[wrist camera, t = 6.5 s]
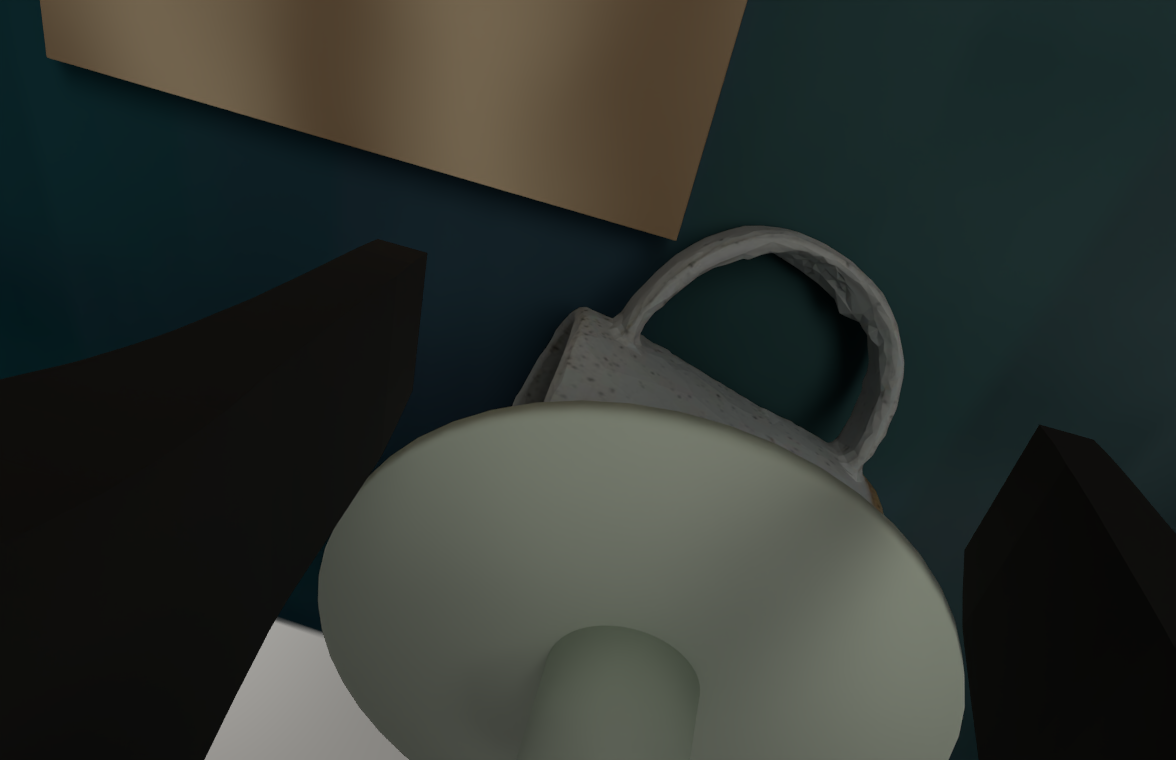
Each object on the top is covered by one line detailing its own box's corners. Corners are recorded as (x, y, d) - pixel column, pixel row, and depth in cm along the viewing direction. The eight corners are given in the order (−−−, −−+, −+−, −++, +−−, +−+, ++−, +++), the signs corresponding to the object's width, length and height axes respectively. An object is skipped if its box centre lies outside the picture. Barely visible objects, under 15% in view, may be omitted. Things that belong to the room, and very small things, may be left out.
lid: (1075, 500, 15) (1130, 711, 12) (856, 900, 22) (856, 1097, 19) (316, 329, 16) (193, 481, 13) (337, 760, 23) (259, 924, 20)
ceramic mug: (747, 598, 28) (719, 859, 22) (478, 465, 27) (370, 695, 21) (996, 310, 22) (1058, 559, 16) (658, 128, 21) (581, 312, 15)
